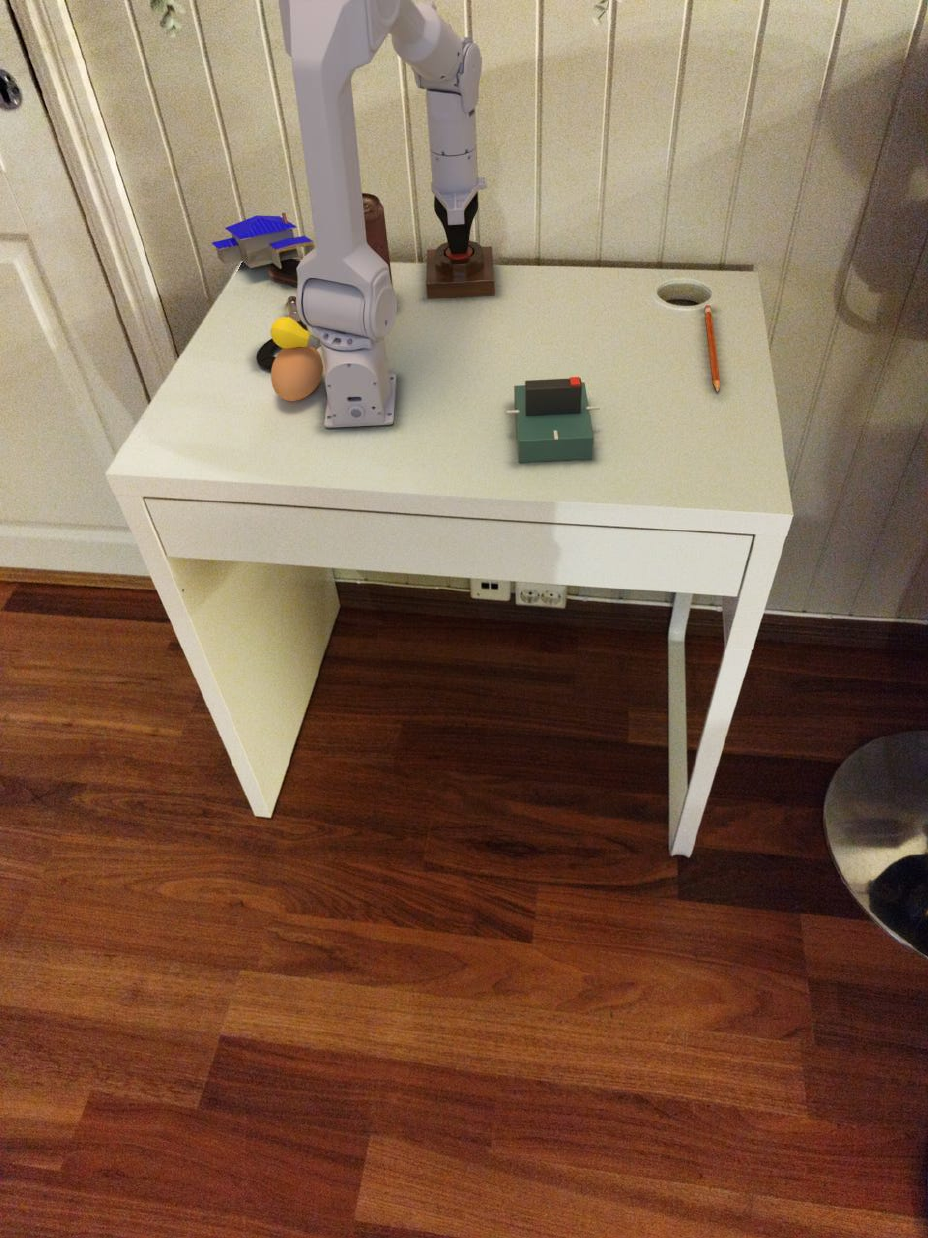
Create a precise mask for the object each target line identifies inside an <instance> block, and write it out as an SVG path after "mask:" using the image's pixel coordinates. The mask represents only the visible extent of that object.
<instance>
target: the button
mask: <svg viewBox="0 0 928 1238" xmlns="http://www.w3.org/2000/svg"><path fill="white" fill-rule="evenodd" d="M472 255H473V251H472V249H471V248H470V247H469V246H468V250H467V253H463V254H451V251H450V248H448V249H447V250H446V257H447V258H449V259H453V260H464V259H467V258H469V257H471V256H472Z"/></svg>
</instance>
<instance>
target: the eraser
mask: <svg viewBox="0 0 928 1238" xmlns="http://www.w3.org/2000/svg"><path fill="white" fill-rule="evenodd" d="M280 262H281V266H282V268H281V269H280V268H279V267H278V266H276V265H275V264H274V263H271V264H269V266H268V267H269V268H268V274H269V276H270V277H271V279H272V280H274V281H276V282H278V283H282V284H286V285H289V286H293V287H297V286H298V276H297V270H296V269H297V267H298V265H299V263H300V262H301V260H299V259H296V258H292V259H288V260H284V261H280Z"/></svg>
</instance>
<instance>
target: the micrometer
mask: <svg viewBox="0 0 928 1238" xmlns="http://www.w3.org/2000/svg"><path fill="white" fill-rule="evenodd" d="M285 311H286V313H287V317H289V318H291V319H293V320H295V321H296V322H297V323H298V324H299V325H300V326H301V327H302V328H303V329H305V330H307V331H309V329H308V326H307V325H305V324H304V323H303V322H302V321H301V319H300V317H299V314H298V311H297V307H296V296H295V295H290V296H289V297H288V298H287V302H286V303H285ZM278 348H281V347H280V346H278V345H277V344H276V343H275V342H274V341H273V339H272V338H270V339H268V340H266V342H265V343H263V345H261V347H260V348H259V349H258V351H257V352H256V358H255V359H256V362H257V364H258V365H259V367H260V368H263V369H265V370H271V369H272V365H273V362H274V360H275V358H276V356H274V355H273V353H274V352H275V351H276V350H277V349H278Z"/></svg>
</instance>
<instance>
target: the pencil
mask: <svg viewBox="0 0 928 1238" xmlns="http://www.w3.org/2000/svg"><path fill="white" fill-rule="evenodd" d="M704 314H705V315H704V316H705V325H706V331H707V332H706V333H707V342H708V351H709V358H710V359H709V360H710V366H711V376H712V383H713V385H714V388H715V389H716V392H719V390H720V386H721V378H720V370H719V369H720V368H719V363H718V362H719V361H718V354H717V345H716V337H715V329H714V322H713V314H712V307H711V305H710V304H707V305H705V306H704Z"/></svg>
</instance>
